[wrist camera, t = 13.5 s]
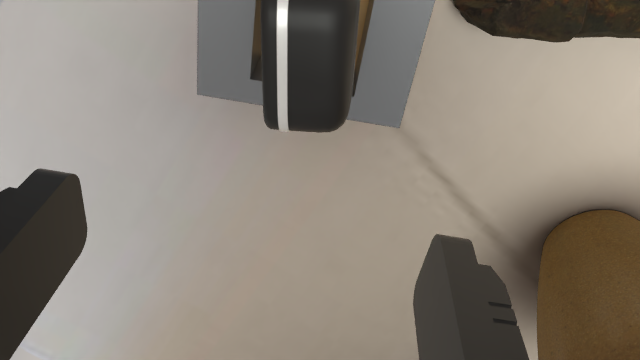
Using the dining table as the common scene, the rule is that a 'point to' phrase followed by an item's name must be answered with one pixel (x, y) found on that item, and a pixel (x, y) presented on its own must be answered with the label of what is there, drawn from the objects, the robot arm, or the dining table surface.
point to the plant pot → (590, 289)
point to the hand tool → (553, 18)
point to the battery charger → (308, 62)
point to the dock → (370, 63)
